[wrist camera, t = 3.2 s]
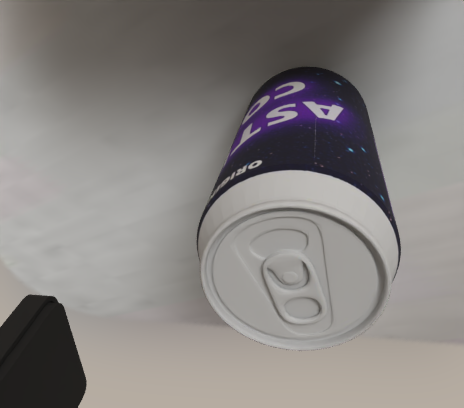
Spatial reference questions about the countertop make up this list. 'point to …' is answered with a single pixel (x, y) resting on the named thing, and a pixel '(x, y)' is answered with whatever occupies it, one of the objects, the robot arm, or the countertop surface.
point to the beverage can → (300, 218)
